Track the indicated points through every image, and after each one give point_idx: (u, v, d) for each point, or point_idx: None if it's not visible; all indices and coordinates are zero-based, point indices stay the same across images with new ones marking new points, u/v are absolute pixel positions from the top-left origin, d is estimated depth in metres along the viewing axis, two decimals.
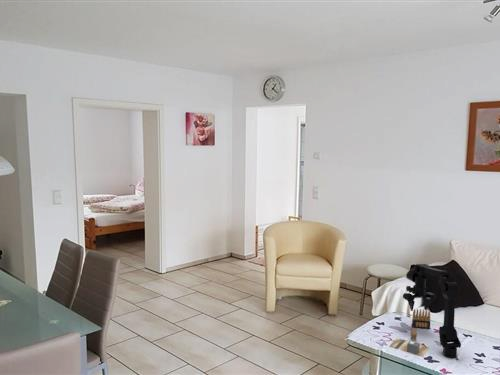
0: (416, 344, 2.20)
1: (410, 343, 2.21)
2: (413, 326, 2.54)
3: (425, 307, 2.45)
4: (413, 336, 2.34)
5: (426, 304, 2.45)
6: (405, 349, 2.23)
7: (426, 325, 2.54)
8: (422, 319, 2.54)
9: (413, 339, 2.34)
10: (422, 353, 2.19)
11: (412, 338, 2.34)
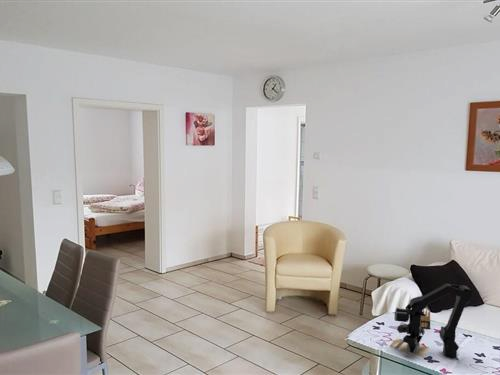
0: None
1: None
2: None
3: None
4: None
5: None
6: (405, 349, 2.23)
7: (426, 325, 2.54)
8: (422, 319, 2.54)
9: None
10: (422, 353, 2.19)
11: None
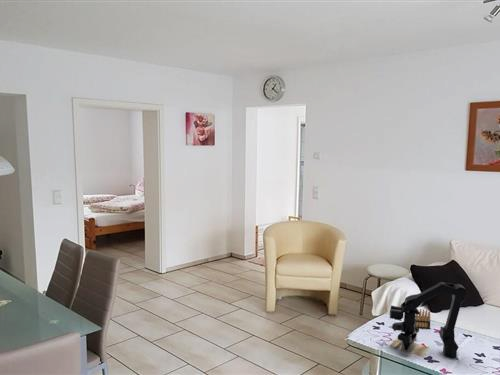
0: None
1: None
2: None
3: None
4: None
5: None
6: None
7: (426, 325, 2.54)
8: (422, 319, 2.54)
9: None
10: (422, 353, 2.19)
11: None
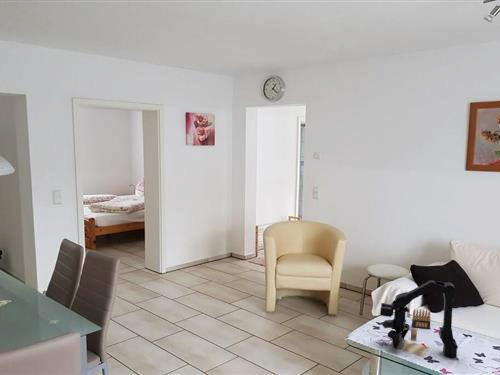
0: None
1: None
2: (413, 326, 2.54)
3: None
4: (413, 336, 2.34)
5: (402, 336, 2.29)
6: (405, 349, 2.23)
7: (426, 325, 2.54)
8: (422, 319, 2.54)
9: (413, 339, 2.34)
10: (422, 353, 2.19)
11: (412, 338, 2.34)
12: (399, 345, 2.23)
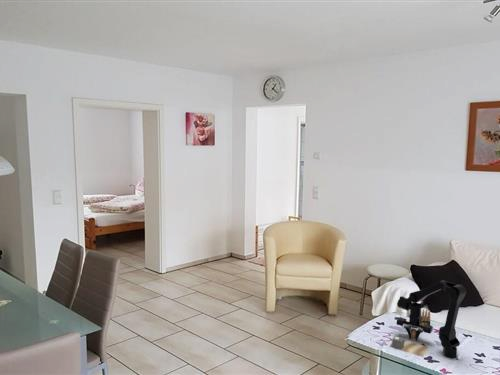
0: (400, 339, 2.25)
1: (395, 338, 2.25)
2: None
3: (416, 338, 2.34)
4: (413, 336, 2.34)
5: None
6: (405, 349, 2.23)
7: None
8: None
9: (413, 339, 2.34)
10: (422, 353, 2.19)
11: (412, 338, 2.34)
12: (399, 345, 2.23)
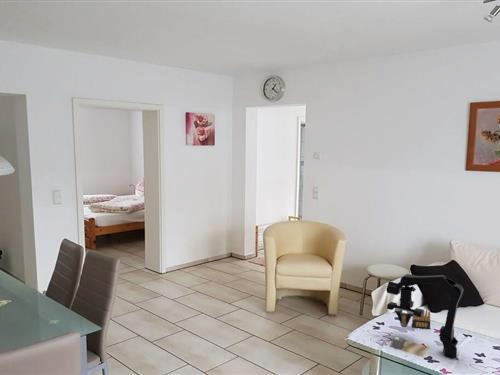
0: (400, 339, 2.25)
1: (395, 338, 2.25)
2: (413, 326, 2.54)
3: None
4: (404, 320, 2.31)
5: None
6: (405, 349, 2.23)
7: (426, 325, 2.54)
8: (422, 319, 2.54)
9: (404, 323, 2.31)
10: (422, 353, 2.19)
11: (403, 322, 2.31)
12: (399, 345, 2.23)
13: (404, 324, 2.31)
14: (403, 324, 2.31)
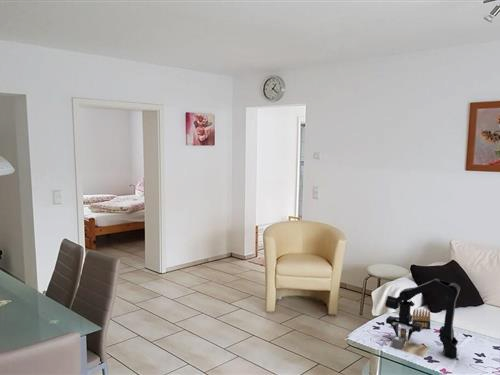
0: (400, 339, 2.25)
1: (395, 338, 2.25)
2: None
3: None
4: (402, 336, 2.31)
5: None
6: (405, 349, 2.23)
7: (426, 325, 2.54)
8: (422, 319, 2.54)
9: None
10: (422, 353, 2.19)
11: None
12: (399, 345, 2.23)
13: None
14: None
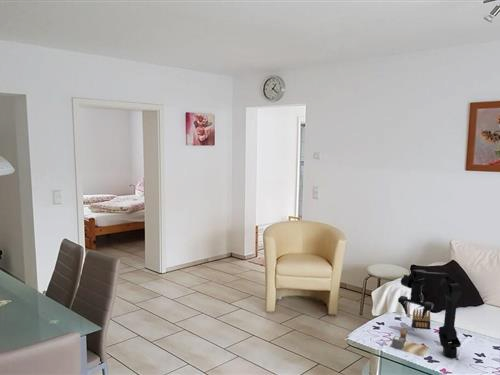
0: (400, 339, 2.25)
1: (395, 338, 2.25)
2: (413, 326, 2.54)
3: (422, 316, 2.38)
4: (402, 336, 2.31)
5: None
6: (405, 349, 2.23)
7: (426, 325, 2.54)
8: (422, 319, 2.54)
9: None
10: (422, 353, 2.19)
11: None
12: (399, 345, 2.23)
13: None
14: None
